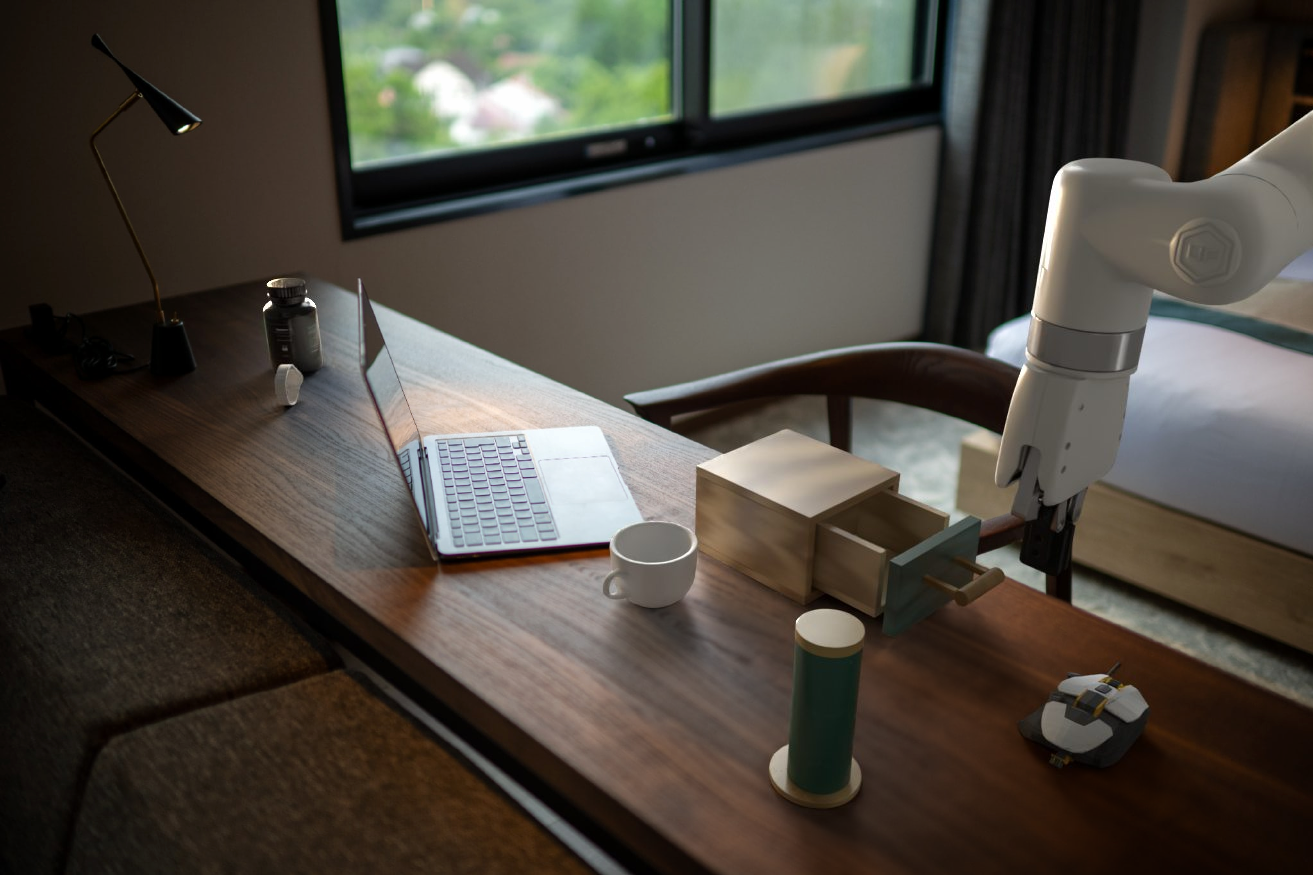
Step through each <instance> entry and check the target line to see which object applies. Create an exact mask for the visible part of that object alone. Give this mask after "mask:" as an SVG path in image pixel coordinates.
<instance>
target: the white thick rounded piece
mask: <svg viewBox="0 0 1313 875" xmlns="http://www.w3.org/2000/svg"><path fill="white" fill-rule="evenodd" d="M303 381H304V375H302V374H301V372H300V371H298V370H297V368H295V367H294V365H280V366H279V367H278V370H277V373H275V377H274V390H275V391H274V394H275V396H276V400H277V403H278V405H281V406H294V405H295V404H296V403H297V401H298V398H299V390H300V389H301V385H302V384H303Z"/></svg>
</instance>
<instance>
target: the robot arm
mask: <svg viewBox="0 0 1313 875" xmlns="http://www.w3.org/2000/svg"><path fill="white" fill-rule="evenodd" d="M1047 209H1048V210H1047V216H1046V222H1045V228H1044V229H1045V230H1044V234H1043V235H1044V236H1043V242H1042V247H1041V252H1040V253H1041V254H1040V259H1039V265H1038V271H1037V279H1036V285H1035V290H1034V297H1033V304H1032V308H1031V314H1030V315H1031V316H1030V320H1029V321H1030V322H1029V328H1028V334H1027V339H1026V347H1025V352H1024V355H1025V358H1026V359H1027V361H1025V362H1024V363H1023V365H1022V368H1021V370H1020V373H1019V375H1018V378H1017V381H1016V383H1015V384H1016V385H1015V387H1014V391H1013V393H1012V397H1011V400H1010V404H1009V408H1008V413H1007V416H1006V420H1005V425H1004V429H1003V433H1002V438H1001V442H1000V447H999V452H998V457H997V462H996V467H995V468H996V469H995V473H994V474H995V475H994V482H995V485H996V487H997V488H1000V489H1007V488H1010V487H1012V486H1013V485H1015V484H1017V483H1018V485H1017V488H1016V491H1015V495H1014V498H1013V502H1012V505H1011V508H1010V515H1011V516H1013V517H1016V518H1018V519H1020V520H1023V521H1025V523H1024V529H1023V533H1022V540H1021V544H1020V545H1021V546H1020V551H1019V558H1018V559H1019V562H1020V563H1021V564H1022V565H1025V566H1027V567H1029V568H1032V569H1033V570H1036V571H1039V572H1040V573H1043V574H1045V575H1048V576H1050V577H1052V578H1053V577H1057V576H1058V575H1060V574H1061V573H1062V572H1065V570H1067V569H1068V567H1069V562H1070V556H1071V552H1072V547H1073V541H1074V538H1075V537H1074V536H1075V532H1076V527H1077V525H1076V524H1075V523H1077V522H1078V520H1079V519H1080V516H1081V513H1082V510H1083V506H1084V502H1085V498H1086V495H1087V492H1088V489H1089V487H1090V486H1092V485H1093V484H1095V483H1096V482H1098V481H1100V480H1101V479H1102V478H1104V477H1105V476H1107V475H1108V474H1109V473H1110V472H1111V470H1112V469H1113V467H1114V465H1115V463H1116V460H1117V458H1118V452H1119V449H1120V445H1121V439H1122V436H1123V431H1124V425H1125V419H1126V414H1127V413H1126V412H1127V406H1128V399H1129V392H1130V383H1131V376H1132V375H1134V374H1135V373H1136V372H1137V371H1138V368H1139V363H1140V358H1141V353H1142V348H1143V344H1144V338H1145V333H1146V329H1147V323H1148V321H1149V320H1148V319H1149V316H1150V311H1151V305H1152V301H1153V296H1154V290H1155V291H1158V292H1160V293H1163V294H1166V295H1169V296H1171V297H1174V298H1176V299H1179V300H1183V301H1185V302H1189V303H1193V304H1197V305H1204V306H1205V305H1206V306H1227V305H1231V304H1235V303H1239V302H1241V301H1245V300H1247V299H1248V298H1250V297H1252V296H1254V295H1256V294H1257V293H1259V292H1260V291H1261V290H1263V289H1264V288H1265V287H1266V286H1267V285H1269V283H1270V282H1272V281H1273V280H1274V279H1275V278H1277V276H1279V275H1280V274H1281V273H1282V271H1283V270H1285V269H1286V268H1287V267H1288V266H1289V265H1291V263H1293V262H1294V261H1295V260H1297V259H1298V258H1300V257H1301V256H1302V255H1304V254H1306V253H1307V252H1309V251H1310V250H1313V109H1312V110H1310V111H1309V112H1308V113H1307V114H1305V115H1304V116H1303V117H1301V118H1300V119H1298V120H1297V121H1295V122H1294V123H1293V124H1291V125H1290V126H1288V127H1287V128H1286V129H1284V130H1282V131H1281V132H1280V133H1278V134H1277V135H1276V136H1274V137H1272V138H1271V139H1270V140H1268V141H1266V142H1265V143H1264V144H1262V145H1261V146H1260V147H1258V148H1256V149H1254V150H1253V151H1252V152H1251V153H1249V154H1247V155H1246V156H1245V157H1243V158H1242V159H1240V160H1239V161H1237V162H1236V163H1234V164H1233V165H1231V166H1230V167H1227V168H1226V169H1224V170H1223V171H1220V172H1219V173H1218V172H1217V173H1216V174H1215V175H1213V176H1211V177H1209V178H1206V179H1202V180H1196V181H1193V182H1177V181H1173V179H1172V178H1171V175H1170V174H1169V173H1168V172H1167V171H1166V170H1165V169H1164V168H1161V167H1159V166H1157V165H1155V164H1152V163H1148V162H1143V161H1139V160H1131V159H1122V158H1111V157H1110V158H1109V157H1108V158H1106V157H1092V158H1091V157H1090V158H1081V159H1077V160H1073V161H1070V162H1068V163H1066V164H1065V165H1063V166H1062V167H1061V168H1060V169H1059V170H1058V171H1057V173H1056V175H1055V177H1054V179H1053V183H1052V187H1051V191H1050V197H1049V203H1048V208H1047Z"/></svg>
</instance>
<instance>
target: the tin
mask: <svg viewBox="0 0 1313 875" xmlns="http://www.w3.org/2000/svg"><path fill="white" fill-rule="evenodd" d="M794 638H795V639H794V652H793V653H794V654H793V670H792V671H793V672H792V682H791V683H792V686H791V699H790V712H789V713H790V715H789V729H788V744H787V745H788V757H787V774H788V777H789V778H790V780H791V781H792V782H793V784H795V785H796V786H797V787H799V788H800V789H802V790H804V791H807V792H810V793H814V794H832V793H835V792H838V791H840V790H842V789H843V788H844V787H846V785H847V784H848V783H849V781H850V776H851V766H852V757H853V756H854V754H853V753H854V744H855V733H856V724H857V723H856V721H857V715H858V714H857V713H858V702H859V692H860V682H861V672H862V662H863V651H864V645H865V640H866V628H865V626H864V624H863V622H862V620H860V619H859V618H858V617H856V616H855V615H852V614H851V613H848V612H847V611H843V610H839V609H834V608H833V609H832V608H818V609H813V610H810V611H807V612H804V613H803V614H801V615H800V616H799V617H798V618H797V620H796V621H795V627H794Z"/></svg>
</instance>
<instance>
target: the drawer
mask: <svg viewBox="0 0 1313 875" xmlns="http://www.w3.org/2000/svg"><path fill="white" fill-rule="evenodd" d="M982 521H983V520H982V519H981V518H979V517H976V516H974V515H972V514H970V515H968V516H965V517H964V518H962V519H960V520H959V521H957V522H954V524H951V525H950V522H951V513H947V512H945V511H943V510H941V509H938V508H935V507H933V506H931V505H928V504H926V503H923V502H921V501H918V500H916V499H913V498H912V497H908V496H906V495H904V494H902V493H899V492H898V493H897V492H894V491H892V490H889V489H887V488H886V489H884V490H882V491H880V492H878V493H876V494H874V495H872V496H870V497H868V498H866V499H864V500H862V501H861V502H859V503H857V504H855V505H853V506H851V507H849V508H847V509H845V510H843V511H841V512H839V513H837V514H835V515H833V516H831V517H829V518H827V519H825V520H823V521H821V522H819V523H817V524H816V530H815V544H814V558H813V572H812V586H814V587H815V588H817V589H819V590H821V591H823V592H825V593H826V594H827V595H829V596H831V597H833V598H835V599H837V600H838V601H841V602H843V603H844V604H847V605H849V606H851V607H853V608H854V609H855V610H859V611H860V612H863V613H865V614H866V615H868V616H870V617H872V618H877V617H879V615H881V614H883V619H882V630H881V632H882V633H883V634H884V635H887V636H888V637H890V638H892V639H894V638H896V637H898V636H899V635H901V634H902V633H904V632H905V631H906V632H907V630H909V629H911V628H912V627H913V626H915V625H917V624H919V623H920V622H921V621H923V620H924V619H926V618H928V617H929V616H930V615H932V614H934V613H935V612H936V611H938V610H939V609H941V608H943V607H944V606H946V605H947V604H949V603H951V602H952V601H954V603H955V604H956V605H958V606H959V607H967V606H968V605H970V604H972V603H973V602H974V601H976V600H978V599H979V598H981V597H982V596H984V595H985V594H987V593H988V592H990V591H991V590H993V589H994V588H996V587H997V586H999V585H1000V584H1002V583H1004V581H1005V578H1006V575H1005V572H1004V570H1002V569H1001V568H1000V567H997V566H994V567H991V568H990V569H989V568H987V567H985V566H983V565H980V564H978V563H977V557H978V556H977V555H978V549H979V541H980V535H981V529H982ZM975 574H976V575H978V576H977V577H976V578H974V577H975V576H974V575H975Z"/></svg>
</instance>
